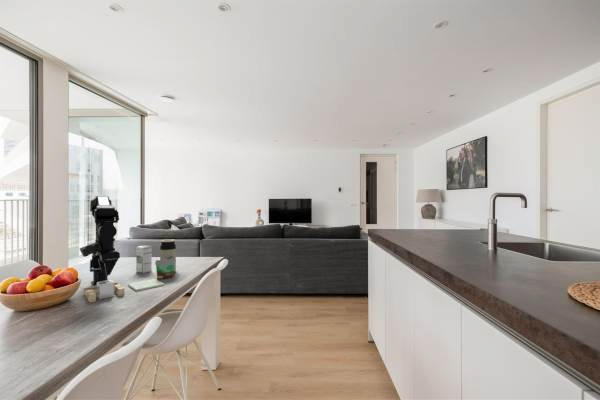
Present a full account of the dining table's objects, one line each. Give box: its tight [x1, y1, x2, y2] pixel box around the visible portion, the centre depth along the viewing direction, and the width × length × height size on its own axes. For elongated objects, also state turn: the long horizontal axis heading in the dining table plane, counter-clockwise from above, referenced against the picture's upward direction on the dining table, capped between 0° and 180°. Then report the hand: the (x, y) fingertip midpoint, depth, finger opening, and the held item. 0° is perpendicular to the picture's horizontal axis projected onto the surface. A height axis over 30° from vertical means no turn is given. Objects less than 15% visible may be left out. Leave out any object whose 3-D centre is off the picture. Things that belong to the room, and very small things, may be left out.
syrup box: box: [135, 244, 153, 274], centre depth 158 cm, size 6×6×14 cm
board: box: [127, 278, 165, 292], centre depth 132 cm, size 12×12×1 cm
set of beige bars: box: [83, 281, 125, 303], centre depth 119 cm, size 13×12×4 cm
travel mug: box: [159, 238, 177, 273], centre depth 157 cm, size 8×8×18 cm
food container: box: [154, 256, 177, 280], centre depth 146 cm, size 12×6×10 cm, turn 168°
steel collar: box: [96, 279, 115, 300], centre depth 117 cm, size 5×5×6 cm
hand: (105, 273), depth 117 cm, fingers open, 9 cm apart
